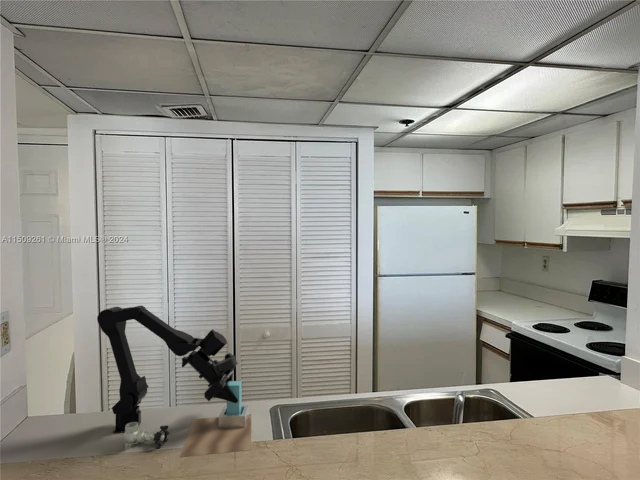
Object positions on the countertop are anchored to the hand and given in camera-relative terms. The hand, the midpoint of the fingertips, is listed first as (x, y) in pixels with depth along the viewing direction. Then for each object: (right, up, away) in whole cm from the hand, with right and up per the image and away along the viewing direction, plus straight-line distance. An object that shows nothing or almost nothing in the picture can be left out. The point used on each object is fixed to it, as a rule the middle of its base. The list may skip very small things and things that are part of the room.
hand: (238, 399), depth 120 cm
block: (-1, -6, 0) cm, 6 cm away
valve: (-24, -8, -14) cm, 29 cm away
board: (-4, -8, -8) cm, 12 cm away
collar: (-1, -7, 0) cm, 7 cm away
